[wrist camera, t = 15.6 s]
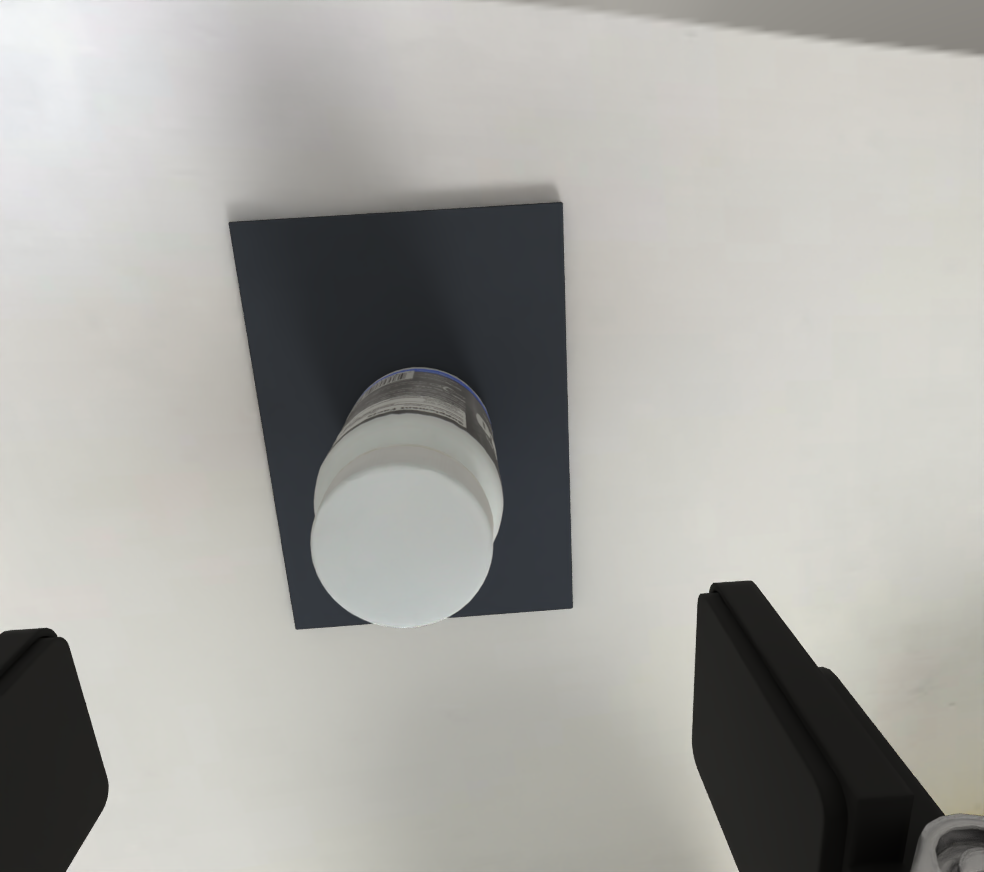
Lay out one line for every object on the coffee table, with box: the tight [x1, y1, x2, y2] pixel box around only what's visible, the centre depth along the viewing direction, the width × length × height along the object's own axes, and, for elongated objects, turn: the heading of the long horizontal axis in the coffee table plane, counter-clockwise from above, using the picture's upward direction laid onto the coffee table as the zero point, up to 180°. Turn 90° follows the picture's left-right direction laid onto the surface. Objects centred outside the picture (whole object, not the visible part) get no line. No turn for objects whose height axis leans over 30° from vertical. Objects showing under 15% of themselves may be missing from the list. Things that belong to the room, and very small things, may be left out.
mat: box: [229, 202, 573, 629], centre depth 23 cm, size 14×10×1 cm
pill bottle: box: [310, 367, 503, 628], centre depth 19 cm, size 5×5×8 cm
